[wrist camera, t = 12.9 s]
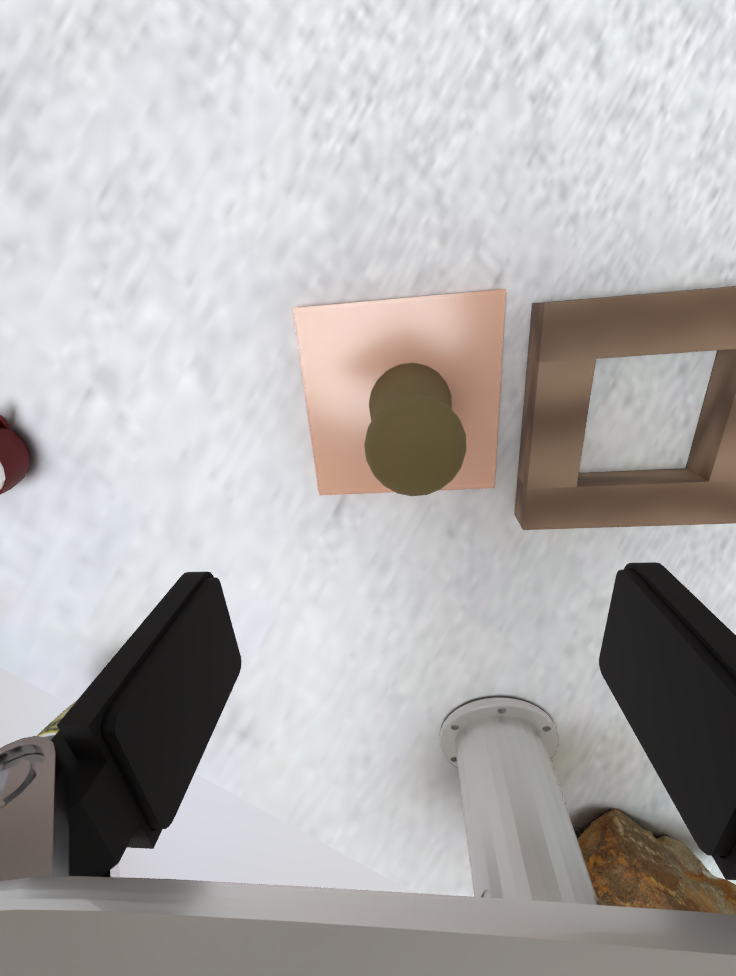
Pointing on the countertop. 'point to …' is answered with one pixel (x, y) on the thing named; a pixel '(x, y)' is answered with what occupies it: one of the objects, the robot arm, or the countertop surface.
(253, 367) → the countertop surface
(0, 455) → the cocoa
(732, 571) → the countertop surface
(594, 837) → the rough brown rock
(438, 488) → the olive tall flared piece
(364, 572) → the countertop surface
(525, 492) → the frame
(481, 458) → the terracotta tile
